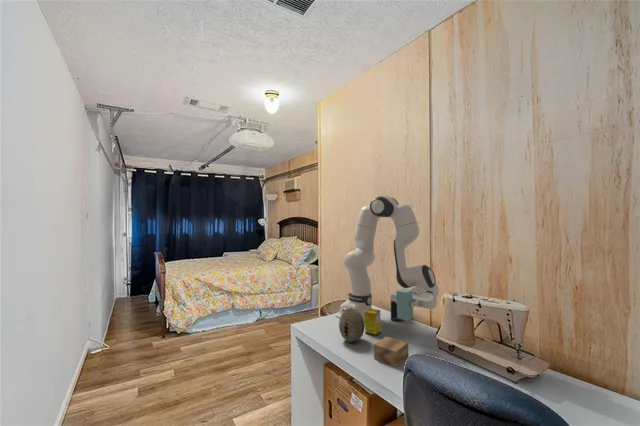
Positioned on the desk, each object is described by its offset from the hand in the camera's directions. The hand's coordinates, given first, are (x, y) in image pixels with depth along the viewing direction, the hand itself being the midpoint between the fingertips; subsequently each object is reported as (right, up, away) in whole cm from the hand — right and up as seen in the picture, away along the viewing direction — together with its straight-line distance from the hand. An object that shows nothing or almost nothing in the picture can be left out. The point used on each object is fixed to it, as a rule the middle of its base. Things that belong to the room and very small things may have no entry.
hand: (403, 303), depth 128 cm
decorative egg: (-22, -20, +7) cm, 30 cm away
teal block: (+1, -6, +1) cm, 7 cm away
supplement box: (-11, -20, +16) cm, 27 cm away
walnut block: (-8, -19, -10) cm, 23 cm away
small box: (+6, -19, +35) cm, 41 cm away
